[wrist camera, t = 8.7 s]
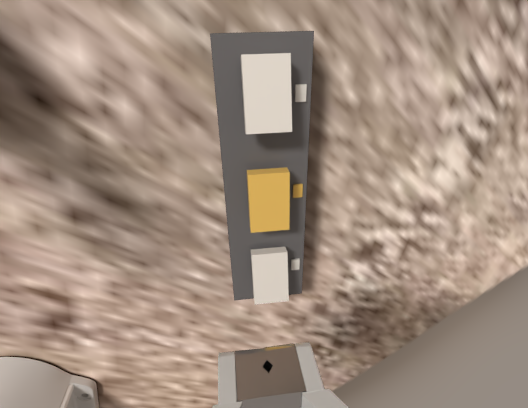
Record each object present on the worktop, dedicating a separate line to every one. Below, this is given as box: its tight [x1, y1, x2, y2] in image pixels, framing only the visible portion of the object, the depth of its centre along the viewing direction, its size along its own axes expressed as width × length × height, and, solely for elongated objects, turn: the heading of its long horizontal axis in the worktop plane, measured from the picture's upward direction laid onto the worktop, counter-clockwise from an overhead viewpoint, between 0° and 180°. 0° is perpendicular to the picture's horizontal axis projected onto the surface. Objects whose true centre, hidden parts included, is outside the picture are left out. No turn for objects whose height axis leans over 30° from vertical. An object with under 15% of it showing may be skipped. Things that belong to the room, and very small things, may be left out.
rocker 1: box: [241, 53, 292, 134], centre depth 22 cm, size 5×3×1 cm, turn 1°
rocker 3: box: [251, 247, 289, 304], centre depth 29 cm, size 5×3×1 cm, turn 1°
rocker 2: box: [247, 167, 290, 233], centre depth 26 cm, size 5×3×1 cm, turn 1°
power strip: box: [210, 31, 314, 300], centre depth 29 cm, size 27×7×5 cm, turn 1°
